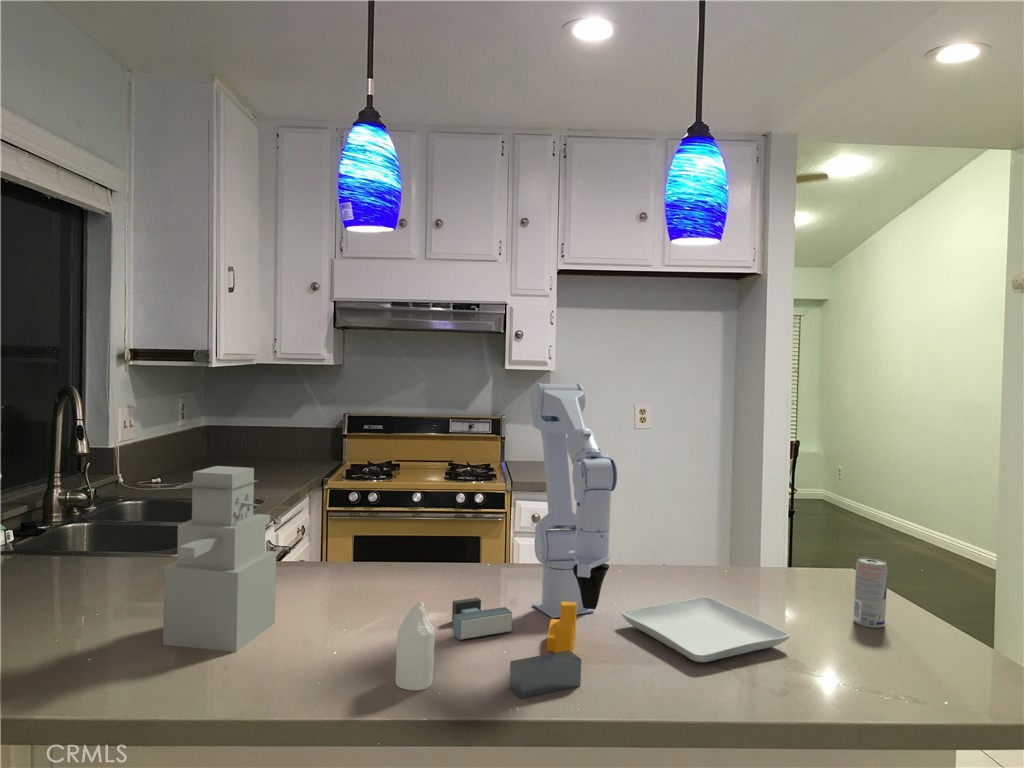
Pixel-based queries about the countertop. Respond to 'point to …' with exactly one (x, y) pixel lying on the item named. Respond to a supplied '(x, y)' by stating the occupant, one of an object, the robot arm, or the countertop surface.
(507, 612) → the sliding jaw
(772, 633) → the salad plate
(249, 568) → the stacked tiered boxes
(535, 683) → the block
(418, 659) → the pale white bottle
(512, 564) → the countertop surface
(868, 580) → the energy drink
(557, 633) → the pipe clamp
